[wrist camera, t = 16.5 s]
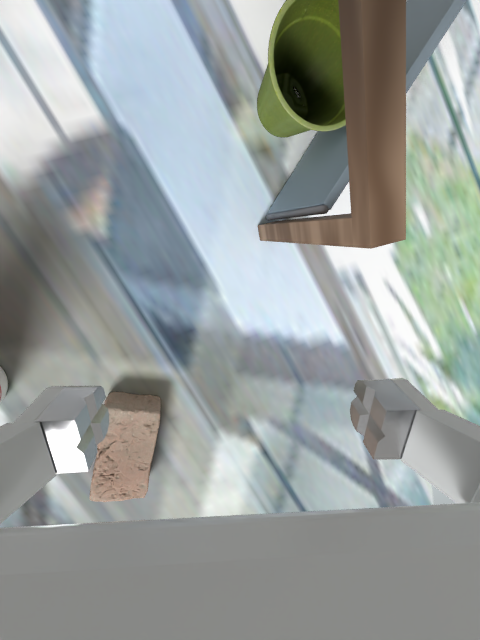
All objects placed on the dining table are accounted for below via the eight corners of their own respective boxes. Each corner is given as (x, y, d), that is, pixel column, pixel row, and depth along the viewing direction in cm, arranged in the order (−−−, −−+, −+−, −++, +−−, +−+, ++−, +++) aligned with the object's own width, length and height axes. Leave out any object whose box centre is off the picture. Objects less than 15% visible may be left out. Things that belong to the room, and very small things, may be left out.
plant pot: (257, 32, 35) (298, -53, 25) (332, 84, 39) (396, 31, 29) (225, 132, 37) (251, 93, 27) (300, 172, 41) (348, 151, 31)
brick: (106, 390, 43) (100, 408, 39) (162, 394, 46) (163, 411, 41) (94, 479, 47) (88, 504, 43) (147, 477, 50) (146, 501, 45)
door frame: (260, 240, 42) (370, 248, 20) (200, -107, 30) (319, -1042, 8) (278, 236, 43) (405, 239, 21) (227, -107, 31) (407, -979, 9)
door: (264, 217, 41) (319, 209, 27) (389, 17, 38) (524, -108, 24) (279, 229, 42) (340, 228, 28) (403, 36, 39) (538, -73, 25)
